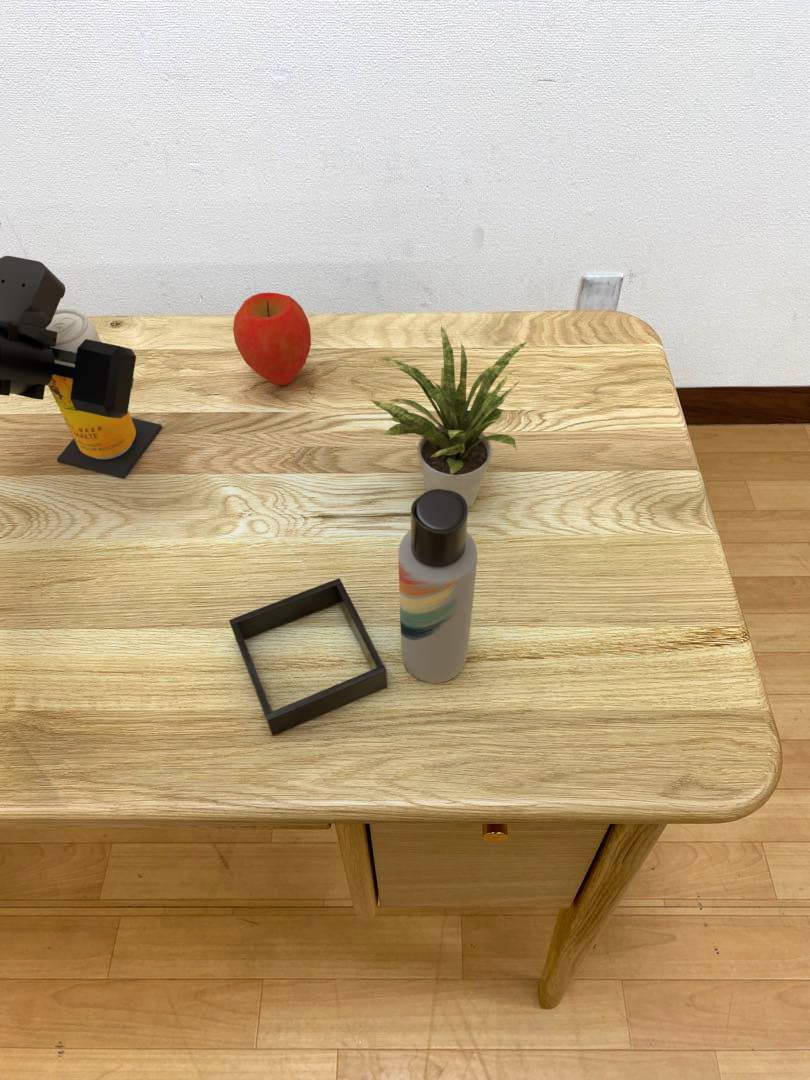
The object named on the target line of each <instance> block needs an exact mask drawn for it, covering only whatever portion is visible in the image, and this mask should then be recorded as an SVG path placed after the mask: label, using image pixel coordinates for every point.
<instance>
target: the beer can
mask: <svg viewBox="0 0 810 1080" xmlns="http://www.w3.org/2000/svg"><path fill="white" fill-rule="evenodd" d="M96 328H97V327H96V325H95V324H94V323H93V322H92V321H91V320H90V319H89V318H88V317H87V316H86V315H85V314H84V313H83V312H82V311H80V310H78V309H74V308H57V309H56V312H55V314H54V317H53V319H52V321H51V323H50V324H49V325H48V326H47V327H46V329H47V330H51V331H55V332H57V339H56V346H55V347H52V346H51V348H56V349H61V350H65V351H70V352H75V353H77V348H78V347H79V346H80V345H81V344H82V342H83V341H84V340H85V339H88V340H93V341H98V342H102V340H101V339H100V336H99V334H98V331H97V329H96ZM55 363H58V364H62V365H67V366H71V367H75V364H72V363H68V362H67V363H66V362H62V361H57V360H55ZM72 383H73V379H71V378H66V377H62V376H57V375H53V377H52V379H51V381H50V383H49V384H48V385H47V386H48V388H49V391H50V393H51V394H52V397H53V399H54V400H55V403H56V405H57V407H58V409H59V411H60V413H61V415H62V417H63V419H64V421H65V424H66V425H67V427H68V430H69V432H70V433H71V436H72V437H73V439H75V441H76V443H77V445H78V447H79V449H80V451H81V452H83V453H84V454H86V455H88V456H91V457H93V458H96V459H111V458H115V457H117V456H120V455H121V454H123V453H124V452H126V451H127V450H128V449H129V448H130V446H131V445H132V442H133V441H134V439H135V436H136V429H135V426H134V424H133V421H132V419H131V418H132V415H131V414H130V412H129V410H128V413H127V414H126V415H125V416H124V417H122V418H121V419H120V418H110V417H105V416H100V415H96V414H92V413H87V412H83V411H79V410H75V408H74V406H73V404H72V401H71V399H70V396H71V389H72Z"/></svg>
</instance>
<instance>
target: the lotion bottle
mask: <svg viewBox="0 0 810 1080" xmlns="http://www.w3.org/2000/svg"><path fill="white" fill-rule="evenodd" d="M468 519H469V508H468V506H467V503H466V501H465V499H464V498H463V497H462V496H461V495H460V494H458V493H456V492H454V491H450V490H444V489H433V490H429V491H426V492H424V493H423V494H421V495H420V496H418V497H417V498H416V499H415V500H414V501H413V502H412V504H411V508H410V529H409V530H408V531H407V532H406V533H405V534H404V536H403V537H402V539H401V541H400V543H399V547H398V554H397V555H398V557H397V558H398V560H397V562H398V593H399V595H398V596H399V624H400V626H399V628H400V650H401V652H400V653H401V659H402V662H403V664H404V666H405V669H406V670H407V671H408V673H409V674H411V675H412V676H413V677H414V678H416V679H418V680H420V681H421V682H425V683H428V684H429V683H430V684H440V683H446V682H448V681H450V680H452V679H454V678H455V677H456V676H457V675H459V673H460V672H461V671H462V670H463V668H464V667H465V665H466V661H467V657H468V651H469V643H470V634H471V633H470V632H471V626H472V624H471V623H472V617H473V607H474V597H475V596H474V595H475V586H476V577H477V569H478V568H477V567H478V547H477V544H476V542H475V540H474V538H473V537H472V535H471V534H470V533H469V532H468Z"/></svg>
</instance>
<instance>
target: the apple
mask: <svg viewBox="0 0 810 1080" xmlns="http://www.w3.org/2000/svg"><path fill="white" fill-rule="evenodd" d="M232 332H233V339H234V343H235V346H236V348H237V350H238V352H239V354H240V355H241V358H242V359H243V361H244V362H245V364H247V366H248V367H249V368H250V369H251V370H252V371H253V372H254V373H256V374H257V375H259V376H260V377H262V378H263V379H264V380H266V381H267V382H270V383H271V384H273V385H275V386H285V385H289V384H291V383H292V382H293V381H294V380H295V379H296V377H297V376H298V374H299V373H300V372H301V371H302V369H303V368H304V366H305V365H306V361H307V359H308V357H309V354H310V351H311V348H312V347H311V346H312V337H311V336H312V335H311V325H310V321H309V319H308V316H307V315H306V313H305V310H304V308H303V307H302V306H301V304H300V303H298V302H297V300H295V299H294V298H293V297H291V296H290V295H287V294H284V293H283V294H282V293H278V292H260V293H257V294H253V295H251V296H250V297H248V298H247V299H245V300H244V301H243V303H242V304H241V306H240V308H239V309H238V310H237V312H236V313H235V315H234V318H233V326H232Z"/></svg>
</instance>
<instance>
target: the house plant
mask: <svg viewBox="0 0 810 1080" xmlns="http://www.w3.org/2000/svg"><path fill="white" fill-rule="evenodd" d="M446 331H447V330H445V328H444V327H443V325H442V324H441V325H440V332H441V333H440V334H441V344H442V355H443V366H442V367H441V373H440V375H441V376H440V385H439V384H437V383H436V382H435V381H433V380H431V378H428V377H427V376H426V375H425V374H424V373H423V372H422V371H421V370H419V369H418V368H417V367H415V366H412V365H409V364H407V363H404V362H400V361H398V360H395V359H392V358H386V357H381V356H380V358H381V359H382V360H384V361H386V362H388V363H390V364H391V365H394V366H395V369H397V370H399V371H401V372H403V373H405V374H407V375H409V377H411V379H412V380H414V381H415V382H416V383H417V384H418V385H419V386H420V388H421V390H422V391H423V393H424V394H425V396H426V397H427V399H428V400H429V402H430V404H431V405H432V408H433V409H434V411H435V412H436V414H437V416H438V418H439V419H440V422H439V420H438V419H437V418H436V417H435V416H434V415H433V414H432V412H431V411H429V410H428V409H427V408H426V407H424V406H423V405H421V404H420V403H418V402H416V401H415V400H411V399H406V398H400V397H399V398H398V397H396V398H392V399H389V401H390V402H394V403H389V402H388V403H387V402H382V401H379V400H375V399H374V400H372V399H369V400H368V401H370V402H371V403H373V404H374V405H375V406H376V407H378V408H379V409H382V410H383V411H385V412H387V413H388V414H389V415H390V416H391V418H390V419H389V421H394V422H395V423H396V424H394V425H392V426H391V427H389V429H388V430H387V431H386V432H385V433H384V436H386V435H387V436H401V435H411V434H412V435H413V434H414V435H415V434H416V435H418V436H421V438H420V440H419V442H418V446H417V454H418V459H419V464H420V469H421V473H422V476H423V481H424V487H425V490H426V492H427V491H429V490H433V489H444V490H450V491H454V492H456V493H458V494H460V495H461V496H462V497H463V498H464V499H465V501H466V503H467V506H468V509H469V508H471V507H472V506H473V505H474V503H475V501H476V499H477V498H478V494H479V491H480V489H481V486H482V483H483V480H484V478H485V475H486V472H487V469H488V467H489V463H490V462H491V459H492V453H493V449H492V444H491V442H490V441H492V442H493V441H494V442H499V443H502V444H507V445H510V446H511V447H513V448H515V451H516V452H518V449H517V444H516V440H515V439H514V438H513V437H512V436H510V435H509V434H502V433H501V434H500V433H499V434H490V435H488V436H486V435H485V434H484V433H483V432H484V431H485V430H486V429H488V428H489V427H490V426H491V425H492V424H494V423H495V422H497V421H501V420H503V418H500V417H501V415H502V413H503V412H505V411H506V410H505V409H502V408H499V407H500V406H502V404H503V403H504V401H505V402H506V401H507V400H506V398H507V397H508V395H509V394H510V393H512V391H513V390H514V389H515V388H516V386H517V385H518V384H519V383H520V382H521V380H519V381H517V382H516V383H514V384H513V385H512V386H511V387H510V388H509V389H507V390H506V391H505V392H504V393H503V394H502V395H498V394H499V393H500V392H501V390H502V388H504V385H505V384H506V382H507V381H508V379H509V378H510V377H511V375H512V373H513V372H514V370H511V371H510V372H509V373H508V374H507V375H506V376H505V377H504V378H503V379H502V380H501V381H500V382H499V383H498V384H497V385H496V386H495V388H494V390H493V391H492V392H489V391H490V390H491V388H492V386H493V385H494V383H495V381H496V380H497V379H498V377H499V376H500V374H501V373H502V372H503V371H504V370H505V369H506V368H507V366H508V365H509V364H510V362H511V361H512V360H513V358H514V357H515V356H516V354H518V352H519V351H521V350H522V349H523V348H524V347H525V345H526V344H527V343H528V341H524V342H522V343H520V344H518V345H515V346H514V347H512V348H511V349H509V350H508V351H506V352H505V353H504V354H502V356H500V358H499V359H497V361H496V362H495V363H494V364H493V365H492V366H490V367H488V368H487V369H485V370H484V371H482V372H481V373H480V374H479V375H478V377H477V378H476V379H475V381H474V382H473V384H472V386H471V388H470V391H469V393H468V396H467V375H468V358H467V355H466V354H467V353H466V350H465V346H464V345H463V343H461V344H460V368H459V369H460V372H459V383H458V385H457V387H456V373H455V357H454V349H453V347H452V344H451V342H450V339H449V337H448V334H447V332H446ZM396 367H397V368H396ZM479 386H480V387H479ZM478 388H479V389H478ZM477 389H478V391H477ZM476 391H477V393H476ZM474 395H475V397H474ZM473 397H474V400H473ZM472 400H473V402H472V405H471V407H470V404H471V401H472ZM395 403H399V404H403V405H406V406H408V407H411V408H413V409H416V410H417V411H419V412H420V413H422V414H423V415H425V416H426V417H425V416H422V415H420V414H417V413H415V412H411V411H410V412H409V411H408V409H406V408H404V407H402V406H400V405H399V406H398V405H397V404H395ZM469 407H470V410H469V412H468V409H469ZM467 412H468V414H467ZM427 417H428V418H429V419H430V420H429V419H428V418H427ZM499 418H500V419H499ZM432 421H433V422H432ZM434 423H435V424H434ZM384 436H383V437H384Z"/></svg>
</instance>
